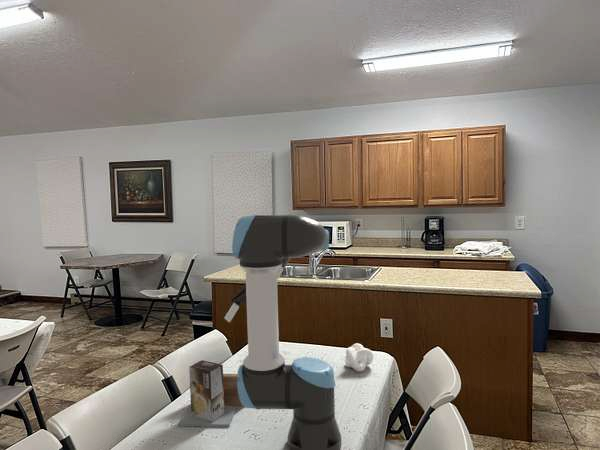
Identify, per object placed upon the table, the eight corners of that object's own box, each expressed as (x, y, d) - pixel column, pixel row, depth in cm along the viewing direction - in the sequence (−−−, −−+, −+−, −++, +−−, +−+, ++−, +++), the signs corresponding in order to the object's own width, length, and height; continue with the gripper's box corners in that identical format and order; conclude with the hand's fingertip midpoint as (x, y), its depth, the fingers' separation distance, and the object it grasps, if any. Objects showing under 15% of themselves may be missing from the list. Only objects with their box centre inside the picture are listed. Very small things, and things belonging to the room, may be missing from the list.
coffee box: (225, 413, 133) (224, 364, 132) (212, 422, 128) (210, 371, 127) (203, 407, 138) (202, 359, 137) (189, 415, 132) (188, 366, 131)
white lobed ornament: (365, 376, 161) (365, 354, 161) (337, 370, 167) (337, 348, 167) (376, 366, 171) (375, 345, 170) (349, 361, 177) (349, 340, 177)
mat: (229, 426, 127) (229, 424, 126) (177, 426, 127) (177, 424, 127) (236, 409, 138) (236, 406, 137) (188, 408, 138) (188, 406, 138)
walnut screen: (248, 405, 140) (247, 376, 139) (192, 405, 141) (191, 376, 140) (249, 402, 142) (248, 373, 141) (194, 402, 143) (193, 373, 142)
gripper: (299, 284, 149) (270, 336, 139) (252, 276, 165) (223, 322, 155) (288, 271, 145) (258, 324, 134) (241, 265, 161) (211, 311, 151)
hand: (239, 323), depth 145 cm, fingers open, 13 cm apart
